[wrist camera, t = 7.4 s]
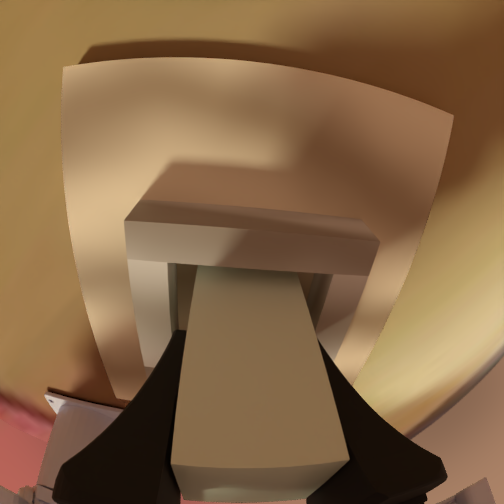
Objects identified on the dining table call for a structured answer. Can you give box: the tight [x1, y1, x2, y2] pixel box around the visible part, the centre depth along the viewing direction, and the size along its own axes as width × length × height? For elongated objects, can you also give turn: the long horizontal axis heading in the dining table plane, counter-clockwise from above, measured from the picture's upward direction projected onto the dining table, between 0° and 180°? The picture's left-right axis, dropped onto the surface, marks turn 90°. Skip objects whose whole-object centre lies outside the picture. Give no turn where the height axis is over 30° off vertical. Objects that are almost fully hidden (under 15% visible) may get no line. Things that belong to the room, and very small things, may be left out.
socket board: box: [61, 57, 454, 401], centre depth 13 cm, size 20×16×3 cm
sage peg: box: [171, 265, 350, 503], centre depth 10 cm, size 4×4×8 cm
